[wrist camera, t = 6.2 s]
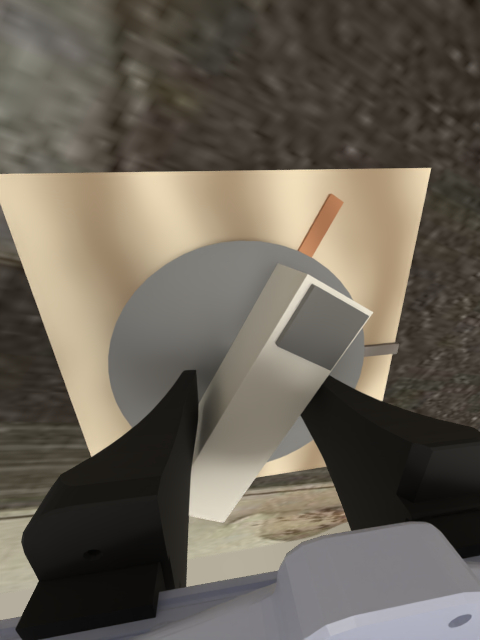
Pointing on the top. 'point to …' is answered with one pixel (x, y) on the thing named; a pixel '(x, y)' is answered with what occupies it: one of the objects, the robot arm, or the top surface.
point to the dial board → (192, 233)
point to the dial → (237, 355)
